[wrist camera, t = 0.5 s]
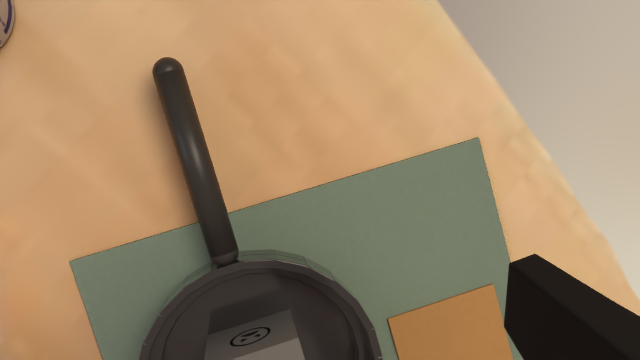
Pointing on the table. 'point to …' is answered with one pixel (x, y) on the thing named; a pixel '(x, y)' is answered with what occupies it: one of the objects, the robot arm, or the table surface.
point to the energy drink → (6, 19)
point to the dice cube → (257, 340)
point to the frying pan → (262, 308)
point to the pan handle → (195, 161)
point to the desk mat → (346, 258)
